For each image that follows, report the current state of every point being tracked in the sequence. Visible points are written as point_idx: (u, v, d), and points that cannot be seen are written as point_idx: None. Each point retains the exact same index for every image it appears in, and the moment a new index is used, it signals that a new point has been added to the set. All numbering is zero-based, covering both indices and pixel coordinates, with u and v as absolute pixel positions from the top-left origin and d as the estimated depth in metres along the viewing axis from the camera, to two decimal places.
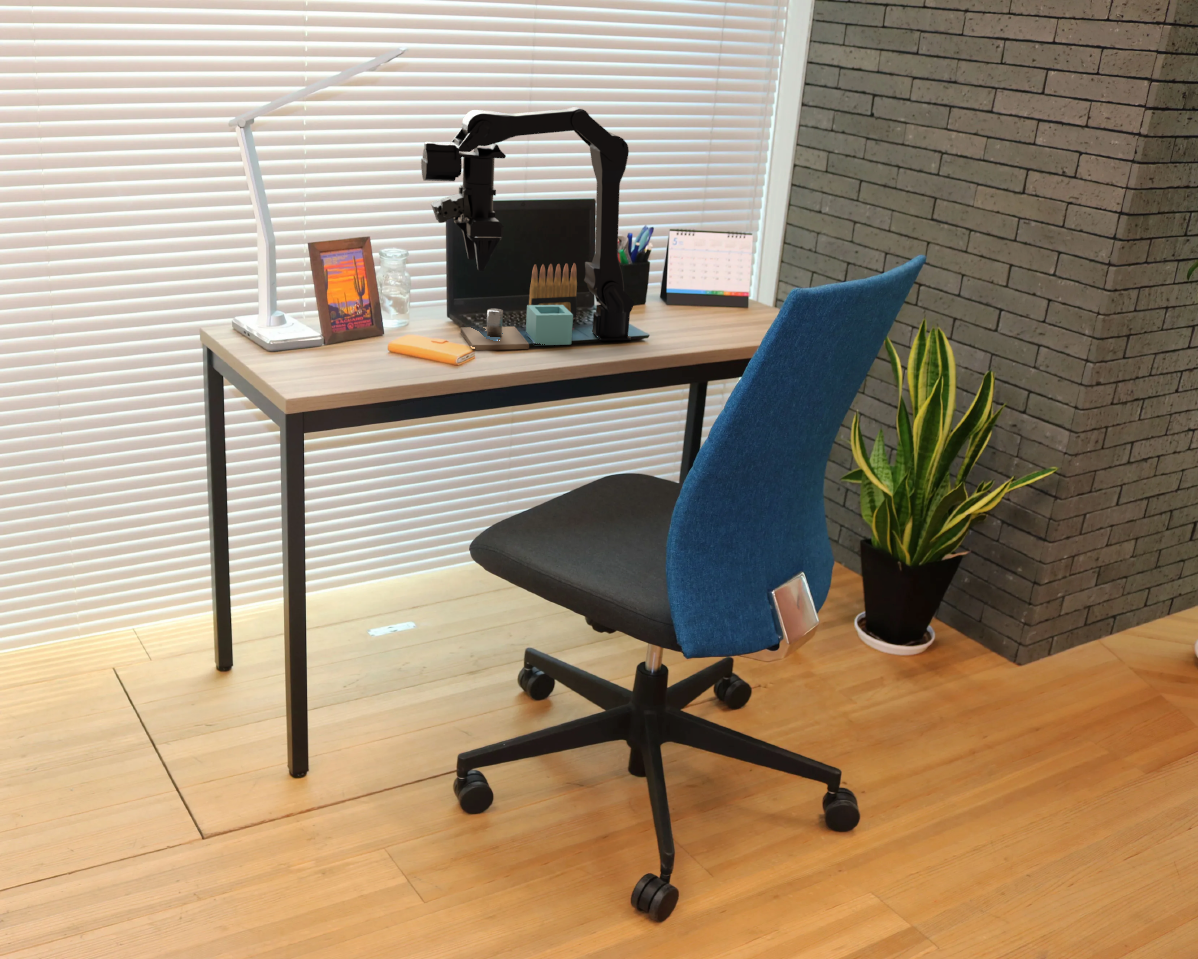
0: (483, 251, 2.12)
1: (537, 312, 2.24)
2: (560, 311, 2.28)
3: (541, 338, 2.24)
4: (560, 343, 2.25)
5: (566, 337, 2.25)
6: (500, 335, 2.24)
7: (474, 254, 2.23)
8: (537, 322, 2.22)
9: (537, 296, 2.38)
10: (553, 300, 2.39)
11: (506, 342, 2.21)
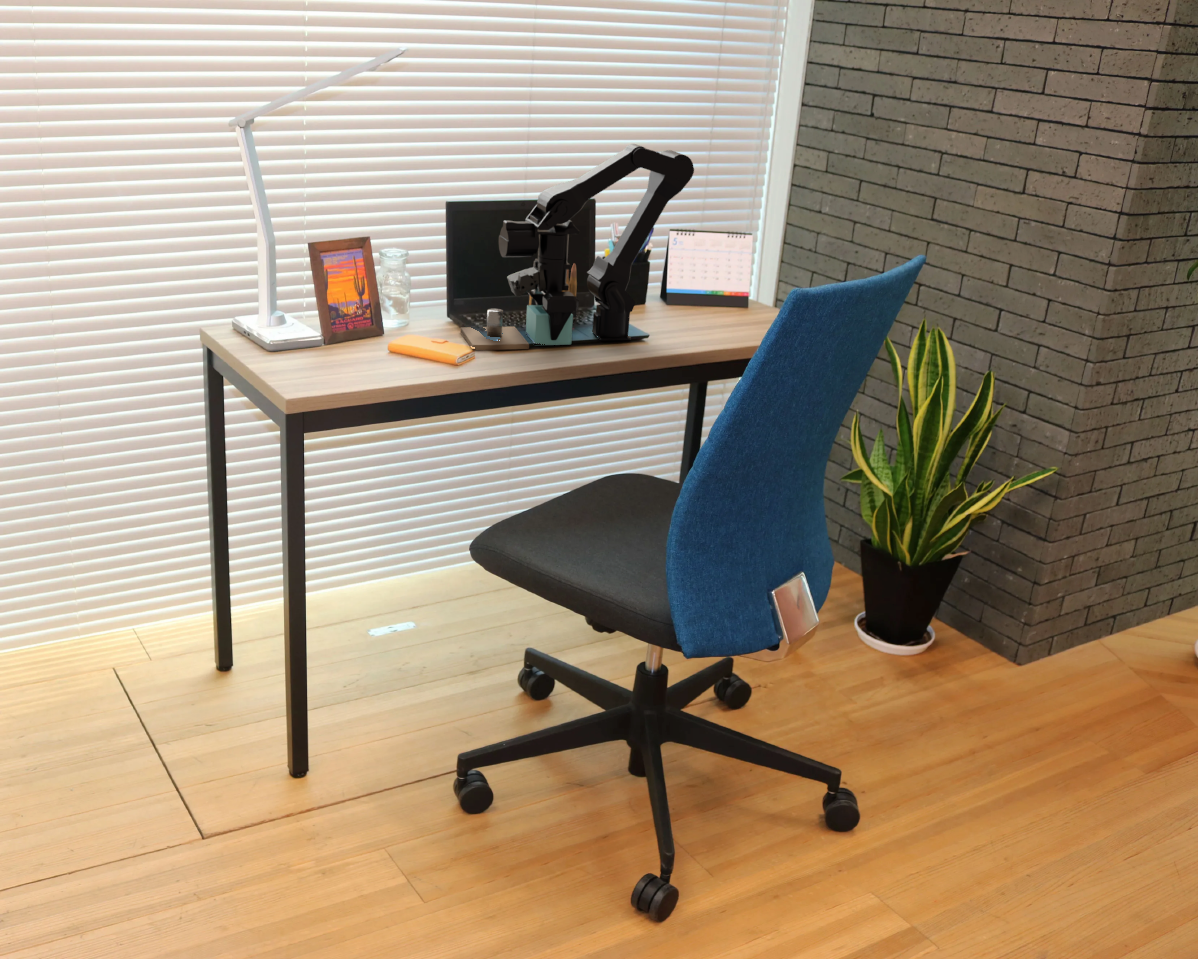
0: (556, 322, 2.22)
1: (537, 312, 2.24)
2: None
3: (541, 338, 2.24)
4: (560, 343, 2.25)
5: (566, 337, 2.25)
6: (500, 335, 2.24)
7: None
8: (537, 322, 2.22)
9: None
10: None
11: (506, 342, 2.21)
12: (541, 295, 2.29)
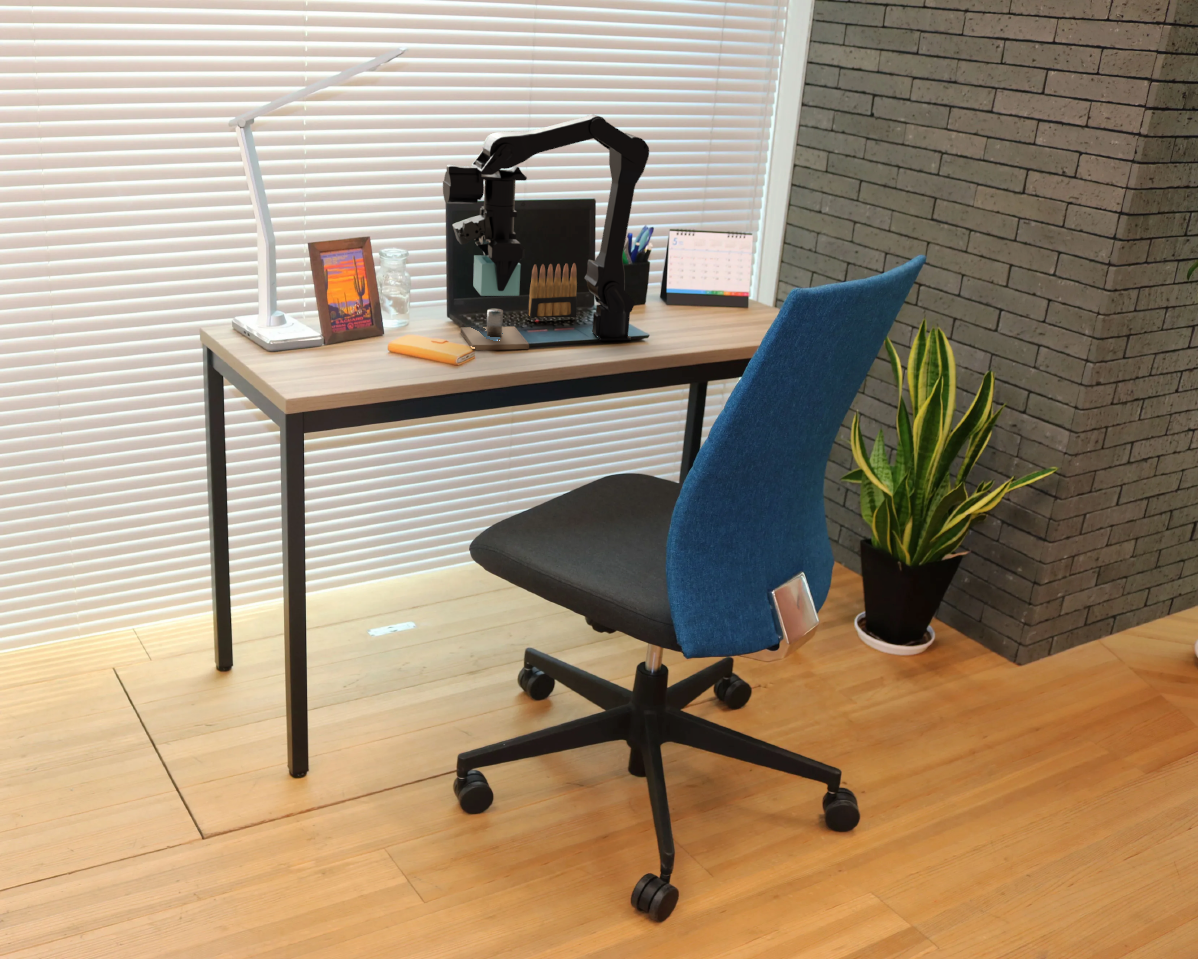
0: (503, 271, 2.15)
1: (483, 261, 2.16)
2: None
3: (488, 288, 2.17)
4: (507, 294, 2.18)
5: (514, 288, 2.18)
6: (500, 335, 2.24)
7: None
8: (483, 271, 2.15)
9: (537, 296, 2.38)
10: (553, 300, 2.39)
11: (506, 342, 2.21)
12: None
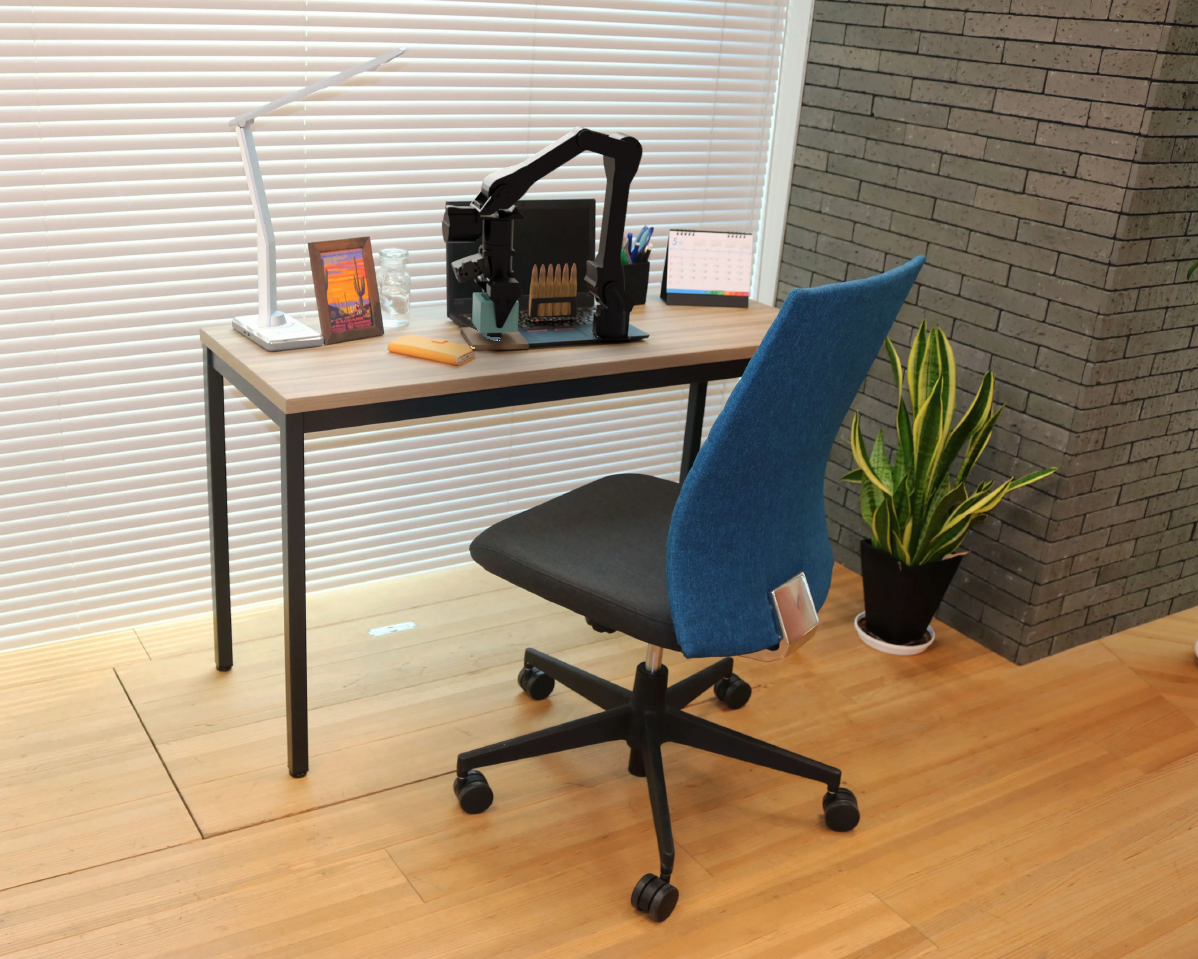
0: (502, 309, 2.18)
1: (482, 299, 2.19)
2: None
3: (486, 325, 2.19)
4: (506, 331, 2.21)
5: (512, 325, 2.21)
6: (500, 335, 2.24)
7: None
8: (482, 309, 2.18)
9: (537, 296, 2.38)
10: (553, 300, 2.39)
11: (506, 342, 2.21)
12: None
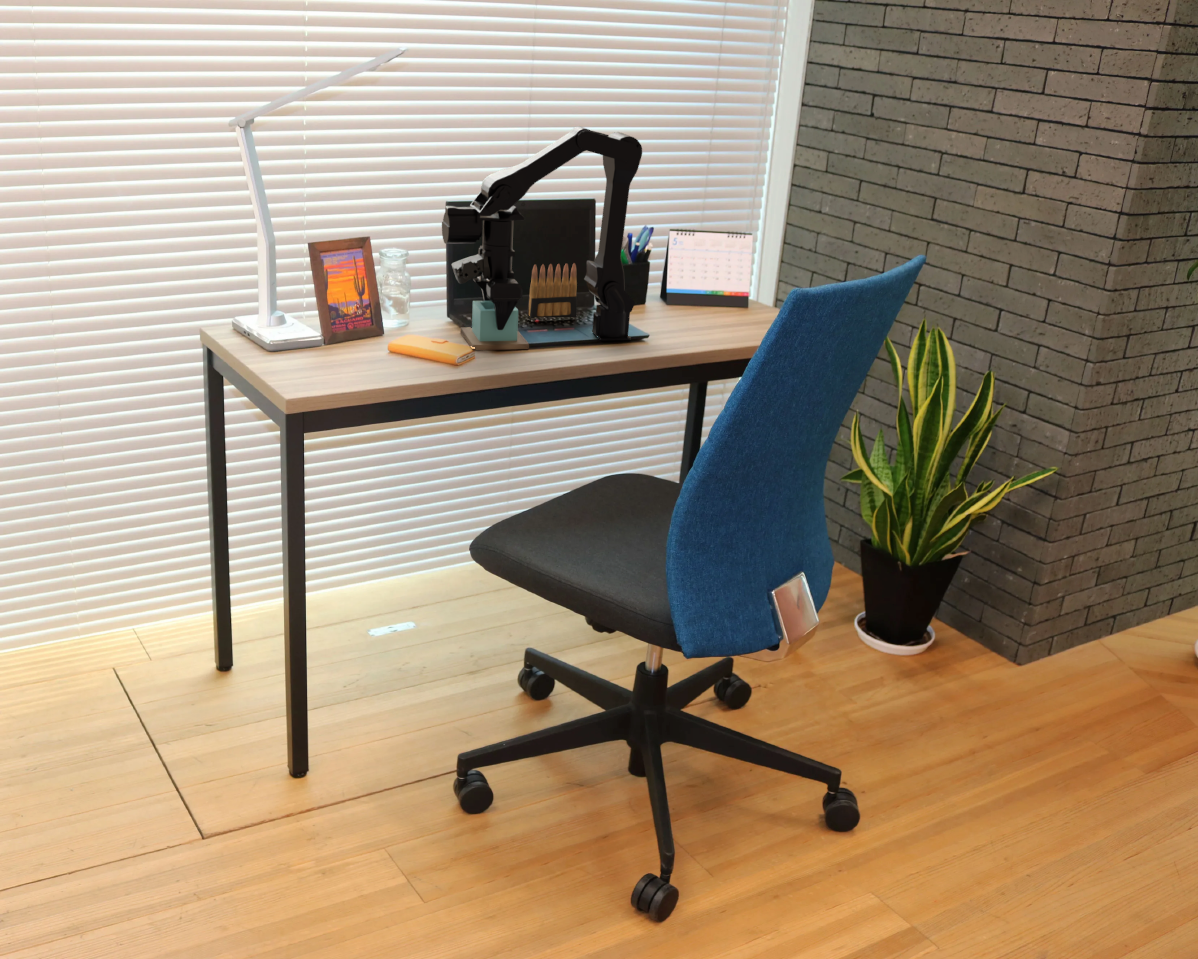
0: (502, 311, 2.17)
1: (482, 308, 2.20)
2: None
3: (486, 334, 2.20)
4: (506, 339, 2.22)
5: (512, 333, 2.22)
6: None
7: None
8: (481, 318, 2.19)
9: (537, 296, 2.38)
10: (553, 300, 2.39)
11: (506, 342, 2.21)
12: (487, 282, 2.25)
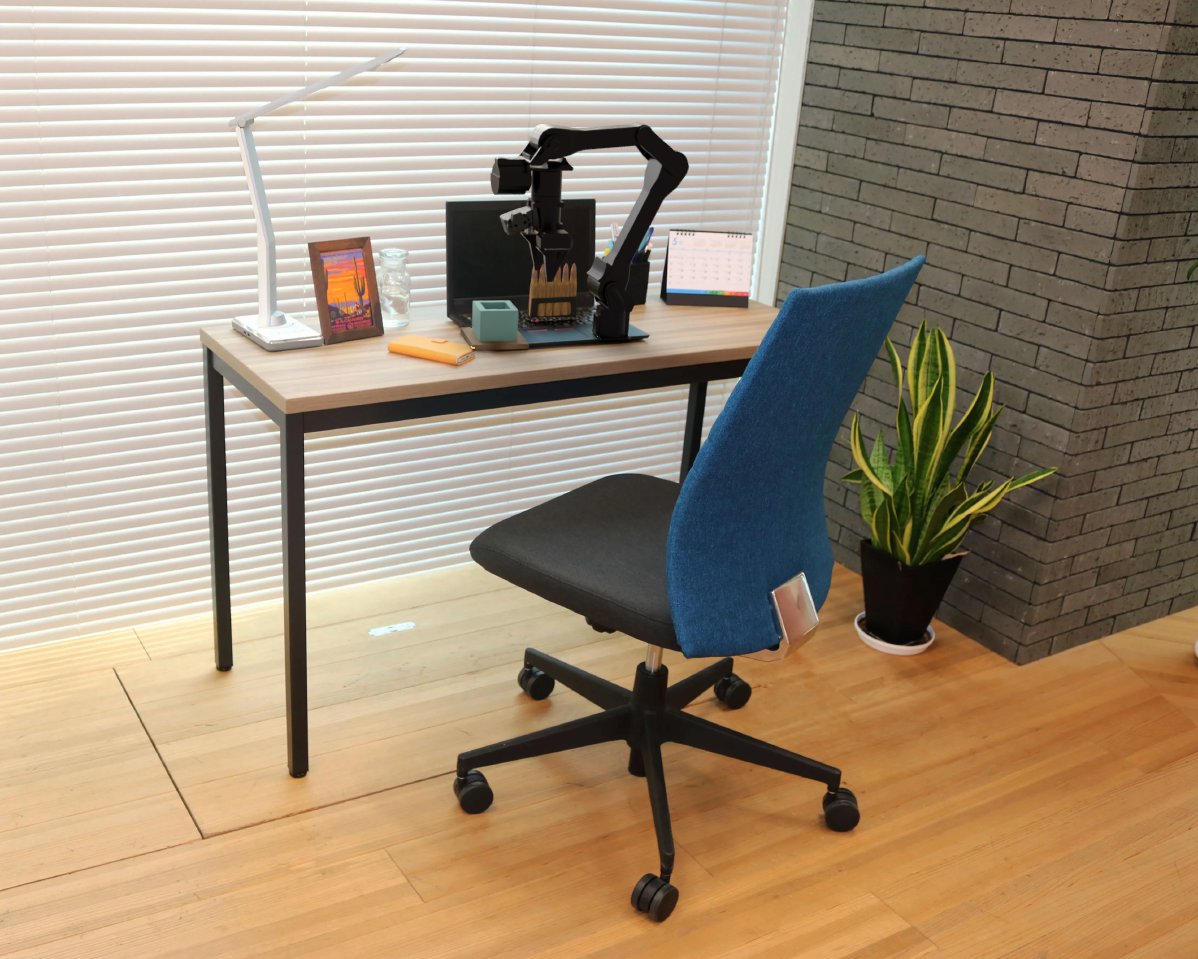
0: (552, 262, 2.16)
1: (482, 308, 2.20)
2: (506, 307, 2.24)
3: (486, 334, 2.20)
4: (506, 339, 2.22)
5: (512, 333, 2.22)
6: None
7: (540, 265, 2.26)
8: (481, 318, 2.19)
9: (537, 296, 2.38)
10: (553, 300, 2.39)
11: (506, 342, 2.21)
12: (534, 235, 2.24)
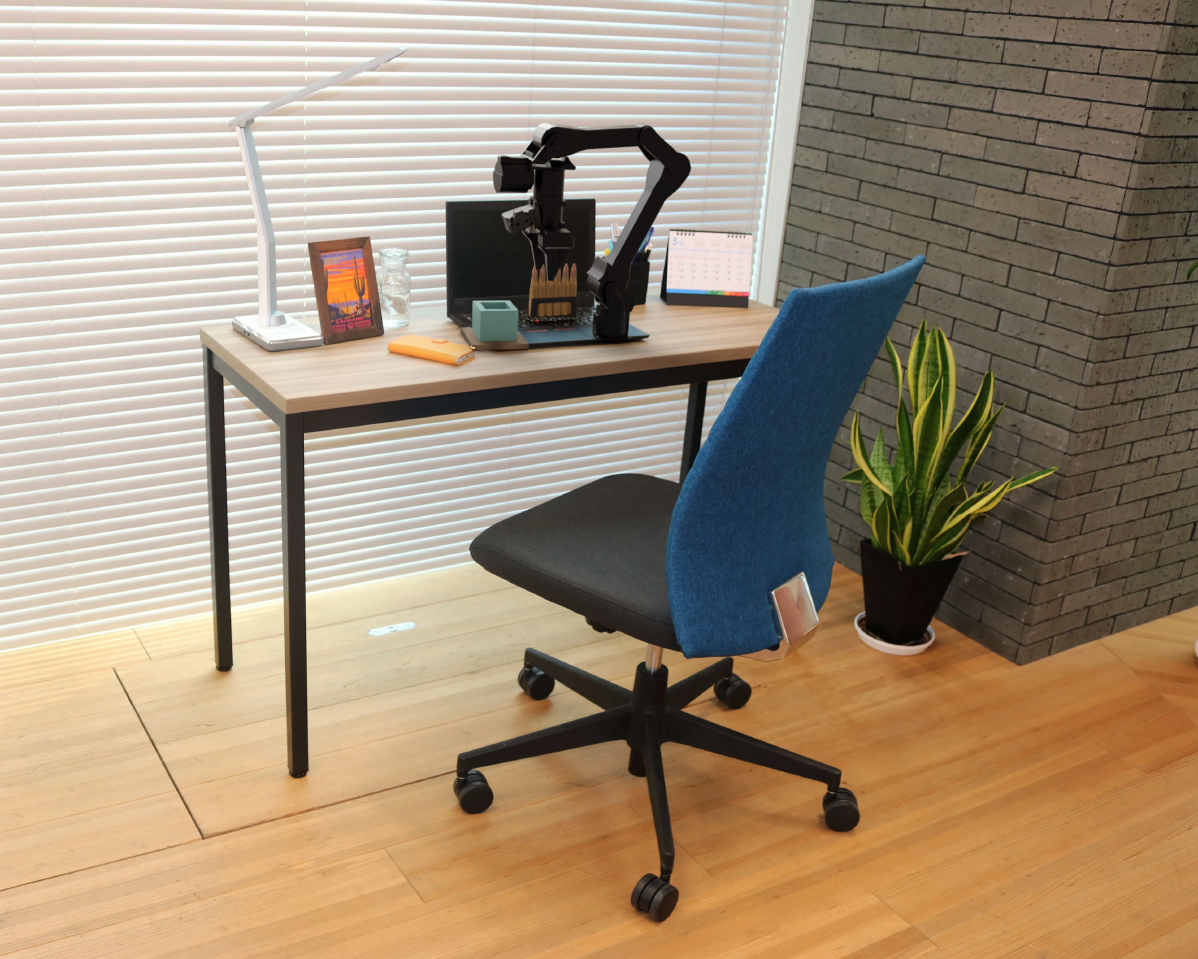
0: (553, 261, 2.16)
1: (482, 308, 2.20)
2: (506, 307, 2.24)
3: (486, 334, 2.20)
4: (506, 339, 2.22)
5: (512, 333, 2.22)
6: None
7: (541, 264, 2.26)
8: (481, 318, 2.19)
9: (537, 296, 2.38)
10: (553, 300, 2.39)
11: (506, 342, 2.21)
12: (536, 234, 2.24)
